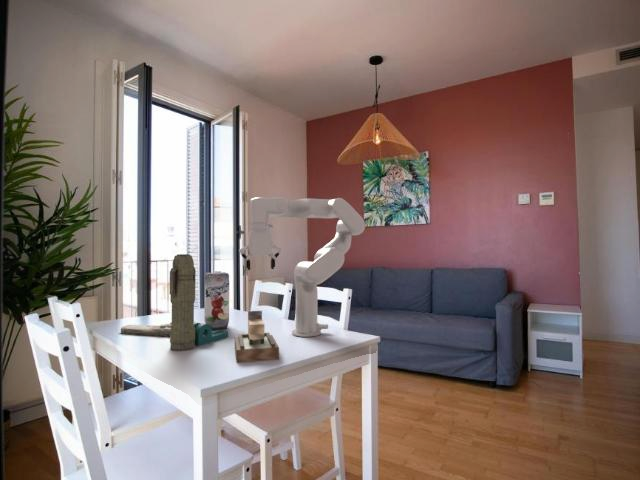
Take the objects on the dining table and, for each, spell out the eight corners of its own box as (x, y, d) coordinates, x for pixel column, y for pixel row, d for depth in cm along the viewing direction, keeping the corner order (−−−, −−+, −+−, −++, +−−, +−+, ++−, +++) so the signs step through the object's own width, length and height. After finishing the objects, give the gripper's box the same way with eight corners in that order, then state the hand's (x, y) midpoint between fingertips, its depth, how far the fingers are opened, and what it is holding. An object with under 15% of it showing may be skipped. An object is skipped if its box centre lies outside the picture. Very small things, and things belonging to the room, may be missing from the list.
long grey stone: (130, 332, 170) (114, 339, 160) (129, 321, 170) (113, 327, 160) (201, 331, 164) (190, 338, 154) (200, 319, 164) (189, 325, 154)
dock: (271, 345, 143) (272, 331, 143) (278, 359, 126) (278, 343, 126) (234, 347, 140) (234, 333, 140) (236, 362, 122) (236, 346, 122)
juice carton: (203, 327, 174) (204, 269, 175) (226, 325, 179) (226, 269, 179) (206, 331, 166) (206, 270, 167) (230, 329, 171) (230, 270, 171)
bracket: (198, 346, 142) (198, 325, 142) (186, 344, 146) (186, 324, 146) (231, 336, 158) (231, 318, 158) (220, 334, 161) (220, 316, 161)
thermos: (161, 351, 135) (162, 254, 136) (182, 342, 147) (182, 254, 147) (182, 353, 133) (183, 254, 133) (201, 344, 144) (202, 254, 145)
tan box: (261, 337, 138) (261, 310, 138) (264, 344, 129) (264, 315, 129) (247, 338, 137) (248, 311, 137) (249, 345, 127) (249, 316, 127)
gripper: (278, 228, 159) (279, 268, 159) (237, 228, 154) (238, 269, 154) (282, 227, 152) (283, 269, 152) (239, 227, 147) (240, 270, 147)
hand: (260, 269), depth 153 cm, fingers open, 9 cm apart
